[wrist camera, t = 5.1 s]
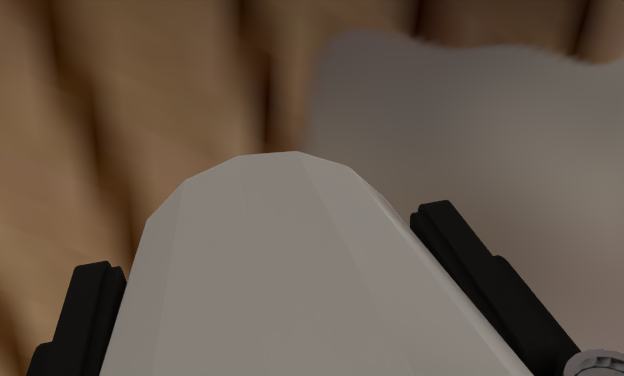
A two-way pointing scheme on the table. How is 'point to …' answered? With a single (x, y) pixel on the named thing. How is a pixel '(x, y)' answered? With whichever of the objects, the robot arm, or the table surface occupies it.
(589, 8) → the table surface
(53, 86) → the table surface
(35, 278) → the table surface
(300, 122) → the table surface
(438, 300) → the white cup
